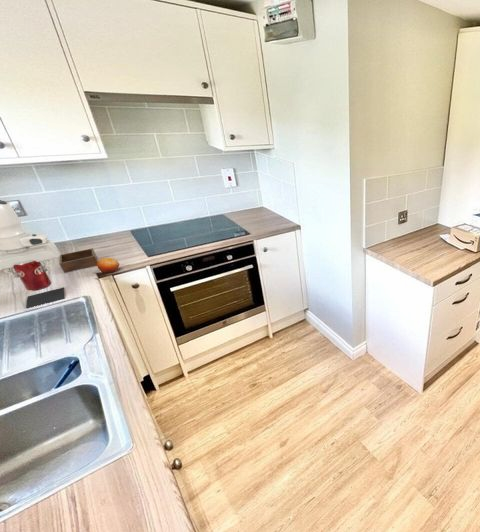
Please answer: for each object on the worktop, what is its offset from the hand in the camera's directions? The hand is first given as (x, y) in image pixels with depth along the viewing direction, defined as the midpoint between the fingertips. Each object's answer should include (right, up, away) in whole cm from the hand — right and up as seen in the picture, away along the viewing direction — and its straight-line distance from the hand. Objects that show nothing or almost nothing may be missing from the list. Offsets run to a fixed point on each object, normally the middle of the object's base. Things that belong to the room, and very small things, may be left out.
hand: (32, 273), depth 128 cm
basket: (-12, +4, +32) cm, 34 cm away
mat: (0, -10, +5) cm, 12 cm away
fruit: (+8, 0, +27) cm, 28 cm away
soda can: (0, -6, +3) cm, 6 cm away
